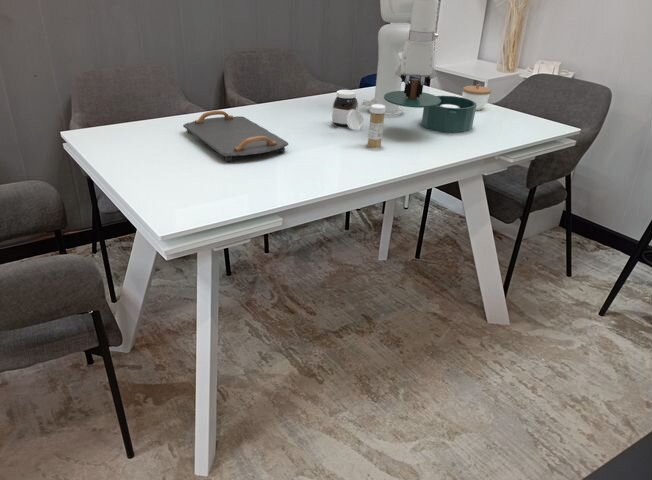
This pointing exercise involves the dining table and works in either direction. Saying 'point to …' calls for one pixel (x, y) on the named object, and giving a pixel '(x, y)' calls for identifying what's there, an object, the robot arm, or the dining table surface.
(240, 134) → the serving tray
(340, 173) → the dining table surface
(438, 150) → the dining table surface
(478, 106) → the white lidded jar
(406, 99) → the tin lid
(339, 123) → the spread jar
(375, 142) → the sprinkles bottle
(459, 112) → the tin
